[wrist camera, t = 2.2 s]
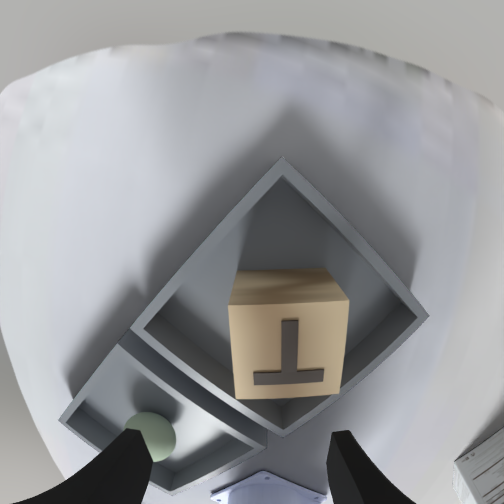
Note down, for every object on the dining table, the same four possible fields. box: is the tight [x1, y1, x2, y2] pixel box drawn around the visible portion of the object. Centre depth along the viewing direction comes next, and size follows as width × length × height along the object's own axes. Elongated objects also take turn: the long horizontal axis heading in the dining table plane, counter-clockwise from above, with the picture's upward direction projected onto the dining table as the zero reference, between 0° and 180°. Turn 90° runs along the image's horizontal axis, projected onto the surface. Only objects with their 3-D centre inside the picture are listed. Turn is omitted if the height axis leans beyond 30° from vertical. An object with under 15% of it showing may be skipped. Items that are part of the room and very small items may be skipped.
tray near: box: [130, 157, 429, 438], centre depth 17 cm, size 12×12×3 cm
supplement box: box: [453, 427, 504, 504], centre depth 15 cm, size 9×9×15 cm
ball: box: [123, 412, 176, 462], centre depth 18 cm, size 4×4×4 cm
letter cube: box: [228, 268, 349, 399], centre depth 15 cm, size 5×5×5 cm
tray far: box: [58, 328, 267, 496], centre depth 19 cm, size 12×12×3 cm
